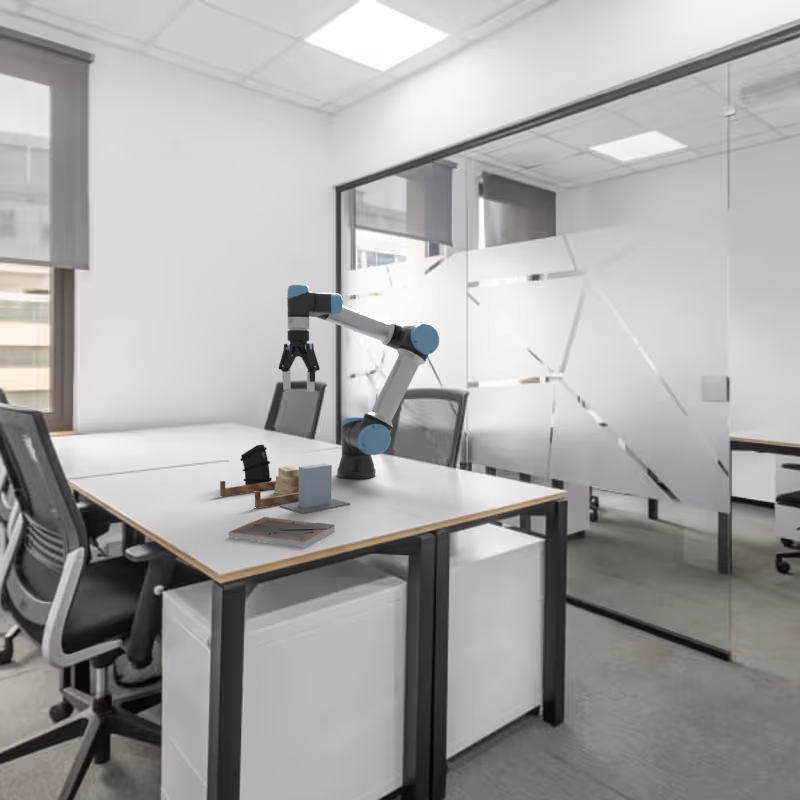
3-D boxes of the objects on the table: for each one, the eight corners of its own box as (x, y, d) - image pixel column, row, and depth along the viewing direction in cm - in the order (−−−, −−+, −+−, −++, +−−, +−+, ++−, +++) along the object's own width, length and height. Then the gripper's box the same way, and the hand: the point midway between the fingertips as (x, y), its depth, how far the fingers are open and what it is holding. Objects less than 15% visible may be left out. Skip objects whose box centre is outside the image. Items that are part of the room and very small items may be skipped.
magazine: (268, 486, 212) (256, 445, 215) (247, 497, 220) (236, 457, 223) (277, 484, 215) (265, 444, 218) (256, 495, 223) (245, 456, 226)
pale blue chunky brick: (324, 501, 197) (324, 463, 196) (331, 502, 194) (331, 465, 193) (298, 505, 190) (298, 467, 189) (305, 507, 187) (305, 468, 186)
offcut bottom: (289, 491, 214) (289, 482, 214) (306, 496, 207) (306, 487, 207) (274, 493, 210) (274, 484, 210) (290, 498, 203) (291, 489, 203)
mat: (326, 498, 203) (326, 497, 203) (349, 504, 194) (349, 503, 194) (279, 506, 190) (279, 505, 190) (303, 513, 181) (303, 512, 181)
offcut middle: (290, 482, 214) (290, 474, 214) (305, 487, 207) (305, 478, 207) (275, 485, 210) (275, 476, 210) (290, 489, 203) (290, 480, 203)
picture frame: (334, 533, 164) (264, 524, 171) (334, 524, 164) (264, 516, 171) (304, 551, 149) (228, 540, 156) (304, 541, 148) (228, 531, 156)
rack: (286, 486, 221) (287, 466, 221) (325, 496, 205) (325, 475, 205) (220, 496, 203) (220, 475, 202) (257, 508, 187) (257, 485, 186)
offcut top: (292, 475, 212) (292, 466, 212) (300, 478, 206) (300, 469, 206) (278, 476, 210) (278, 467, 209) (286, 479, 204) (286, 470, 204)
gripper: (268, 330, 222) (268, 389, 224) (312, 328, 205) (312, 392, 207) (285, 331, 228) (285, 388, 229) (329, 329, 211) (329, 391, 212)
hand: (298, 390), depth 218 cm, fingers open, 13 cm apart
